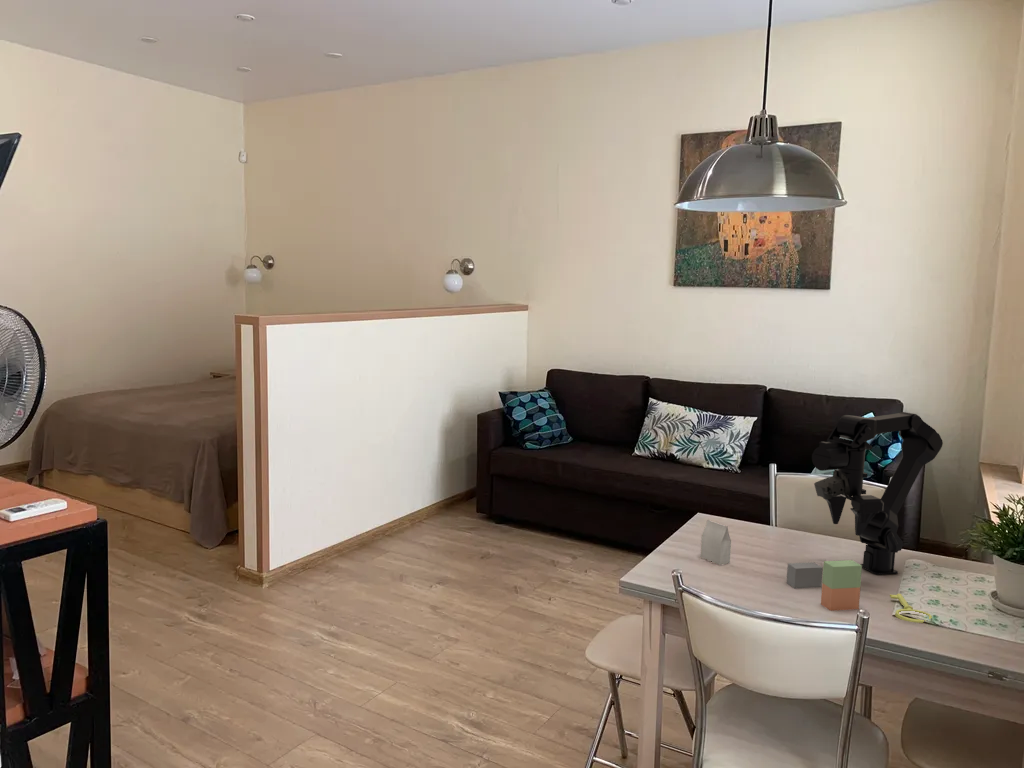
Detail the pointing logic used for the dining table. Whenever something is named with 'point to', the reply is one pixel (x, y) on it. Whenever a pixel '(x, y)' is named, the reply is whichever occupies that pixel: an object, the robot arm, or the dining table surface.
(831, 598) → the rust brick
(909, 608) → the key
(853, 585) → the green brick
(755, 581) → the dining table surface
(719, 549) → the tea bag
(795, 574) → the gray brick
